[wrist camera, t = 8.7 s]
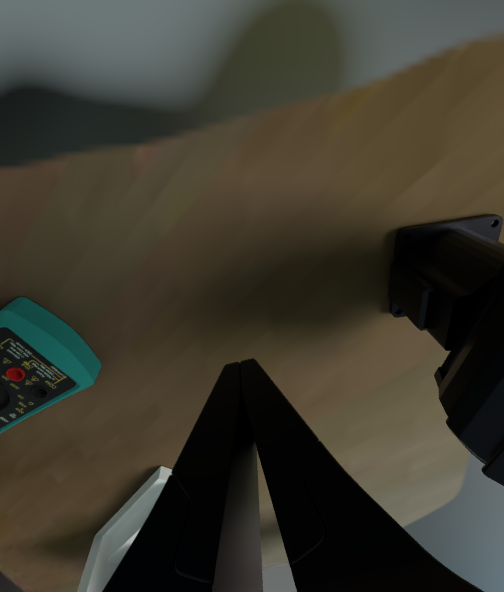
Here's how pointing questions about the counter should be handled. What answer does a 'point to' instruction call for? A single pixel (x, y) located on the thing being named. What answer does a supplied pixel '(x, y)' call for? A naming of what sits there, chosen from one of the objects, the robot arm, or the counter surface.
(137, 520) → the knob mount
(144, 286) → the counter surface
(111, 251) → the counter surface
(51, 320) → the digital multimeter
